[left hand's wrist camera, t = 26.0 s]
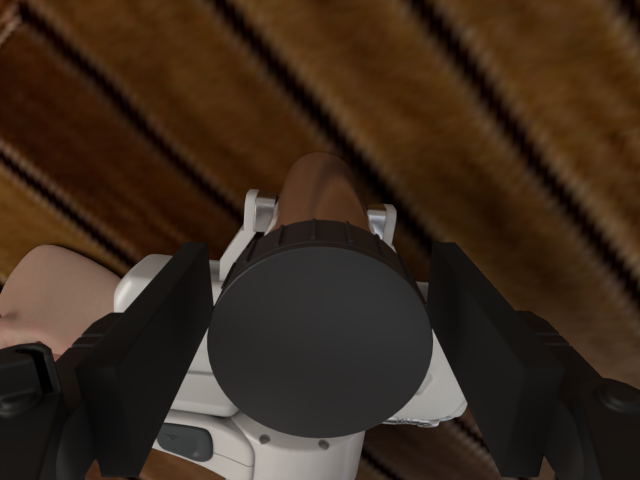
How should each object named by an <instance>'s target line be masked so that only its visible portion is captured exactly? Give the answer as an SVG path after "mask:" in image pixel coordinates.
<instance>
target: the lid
mask: <svg viewBox="0 0 640 480" xmlns="http://www.w3.org/2000/svg"><path fill="white" fill-rule="evenodd" d="M221 289H222V291H221V293H220V295H219V297H218V299H217V301H216V303H215V305H214V307H213V309H212V311H211V313H210V317H209V318H210V322H209V326H208V333H207V352H208V358H209V363H210V366H211V369H212V372H213V375H214V377H215V379H216V381H217V383H218V385H219V386H220V388H221V389H222V391H223V392H224V394H225V395H226V396H227V398H228V399H229V400H230V401H231V402H232V403H233V404H234V405H235V406H236V407H237V408H238V409H239V410H240V411H242V412H243V413H244V414H245V415H247V416H248V417H250V418H251V419H253V420H254V421H256V422H258V423H260V424H262V425H263V426H265V427H268V428H270V429H273V430H275V431H278V432H281V433H285V434H288V435H292V436H298V437H304V438H335V437H343V436H348V435H352V434H356V433H359V432H362V431H365V430H368V429H370V428H372V427H374V426H377V425H379V424H381V423H383V422H384V421H386V420H387V419H389V418H390V417H392V416H393V415H395V414H396V413H397V412H398V411H400V410H401V409H402V408H403V407H404V406H405V405H406V404H407V403H408V402H409V401H410V400H411V399H412V398H413V396H414V395H415V394H416V392H417V391H418V390H419V388H420V386H421V385H422V383H423V381H424V379H425V377H426V375H427V372H428V369H429V367H430V363H431V358H432V353H433V332H432V326H431V322H430V318H429V315H428V312H427V310H426V308H427V307H428V305H427V303H426V301H425V299H424V297H423V295H422V293H421V291H420V289H419V287H418V285H417V283H416V281H415V279H413V277H412V275H411V273H410V271H409V269H408V267H407V265H406V263H405V261H404V259H403V257H402V255H401V254H400V253H399V254H398V255H397V254H396V252H395V251H394V250H393V249H392V248H391V247H390V246H389V245H388V244H386V243H385V242H384V241H383V240H381V238H380V236H379V235H378V234H377V233H376V234H375V235H374V234H372V233H370V232H368V231H367V230H365V229H363V228H360V227H357V226H354V225H352V224H350V222H349V221H345V223H344V222H339V221H332V220H316V218H312V220H307V221H301V222H295V223H292V224H289V225H285V226H284V225H283V224H282V225H280V226H279V228H278V229H276V230H273V231H271V232H269V233H268V234H266V235H265V236H263V237H261V238H260V239H259V240H257V241H256V240H253V241H252V243H251V245H250V247H249V248H248V249H247V250H246V251H245V252H244V254H243V255H242V256H241V257H240V259H239V260H238V262H237V263H236V262H233V264H232V266H231V268H230V270H229V272H228V274H227V276H226V278H225V280H224V282H223V284H222V286H221Z"/></svg>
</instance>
